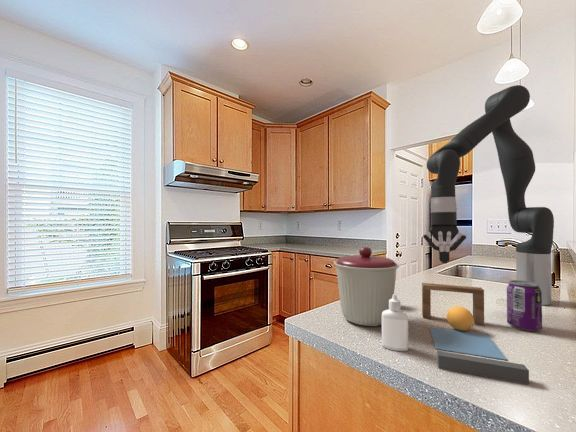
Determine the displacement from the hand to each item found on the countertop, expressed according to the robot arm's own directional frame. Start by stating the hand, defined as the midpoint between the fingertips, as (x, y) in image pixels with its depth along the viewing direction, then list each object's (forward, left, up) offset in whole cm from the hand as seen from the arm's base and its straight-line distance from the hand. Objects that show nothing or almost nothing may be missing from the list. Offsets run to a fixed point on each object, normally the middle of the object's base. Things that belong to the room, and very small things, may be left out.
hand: (444, 262), depth 90 cm
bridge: (+13, 0, -15) cm, 20 cm away
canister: (+22, -23, -15) cm, 35 cm away
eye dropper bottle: (+37, -15, -15) cm, 43 cm away
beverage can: (+12, +17, -15) cm, 26 cm away
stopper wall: (+42, 0, -15) cm, 45 cm away
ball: (+20, +1, -12) cm, 23 cm away
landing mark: (+28, 0, -15) cm, 32 cm away
